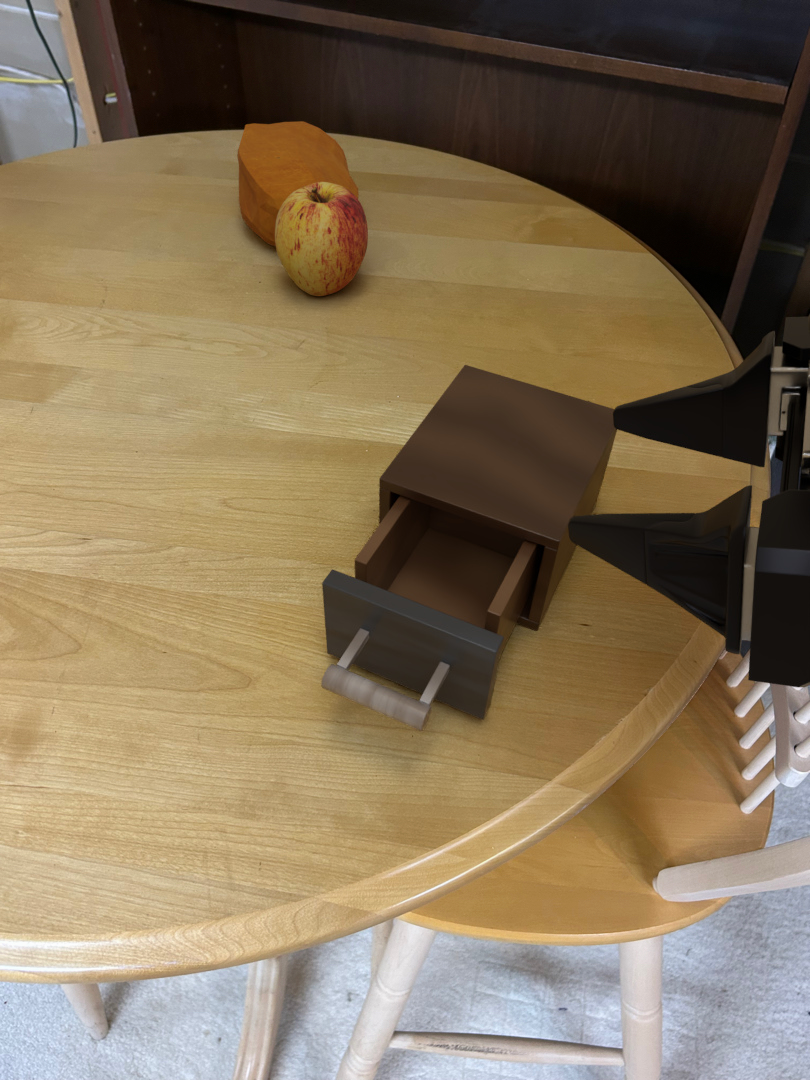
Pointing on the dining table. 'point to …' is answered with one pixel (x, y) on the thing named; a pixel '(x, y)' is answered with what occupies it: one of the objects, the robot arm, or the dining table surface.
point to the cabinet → (508, 466)
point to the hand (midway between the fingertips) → (593, 468)
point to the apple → (321, 237)
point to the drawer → (427, 612)
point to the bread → (284, 169)
